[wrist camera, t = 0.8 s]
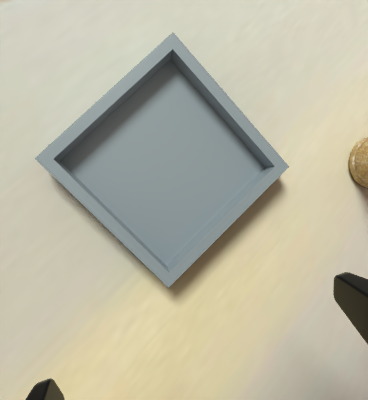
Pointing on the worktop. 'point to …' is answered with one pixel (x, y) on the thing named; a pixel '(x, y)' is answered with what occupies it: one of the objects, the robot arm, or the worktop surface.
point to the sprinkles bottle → (360, 162)
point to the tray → (164, 160)
